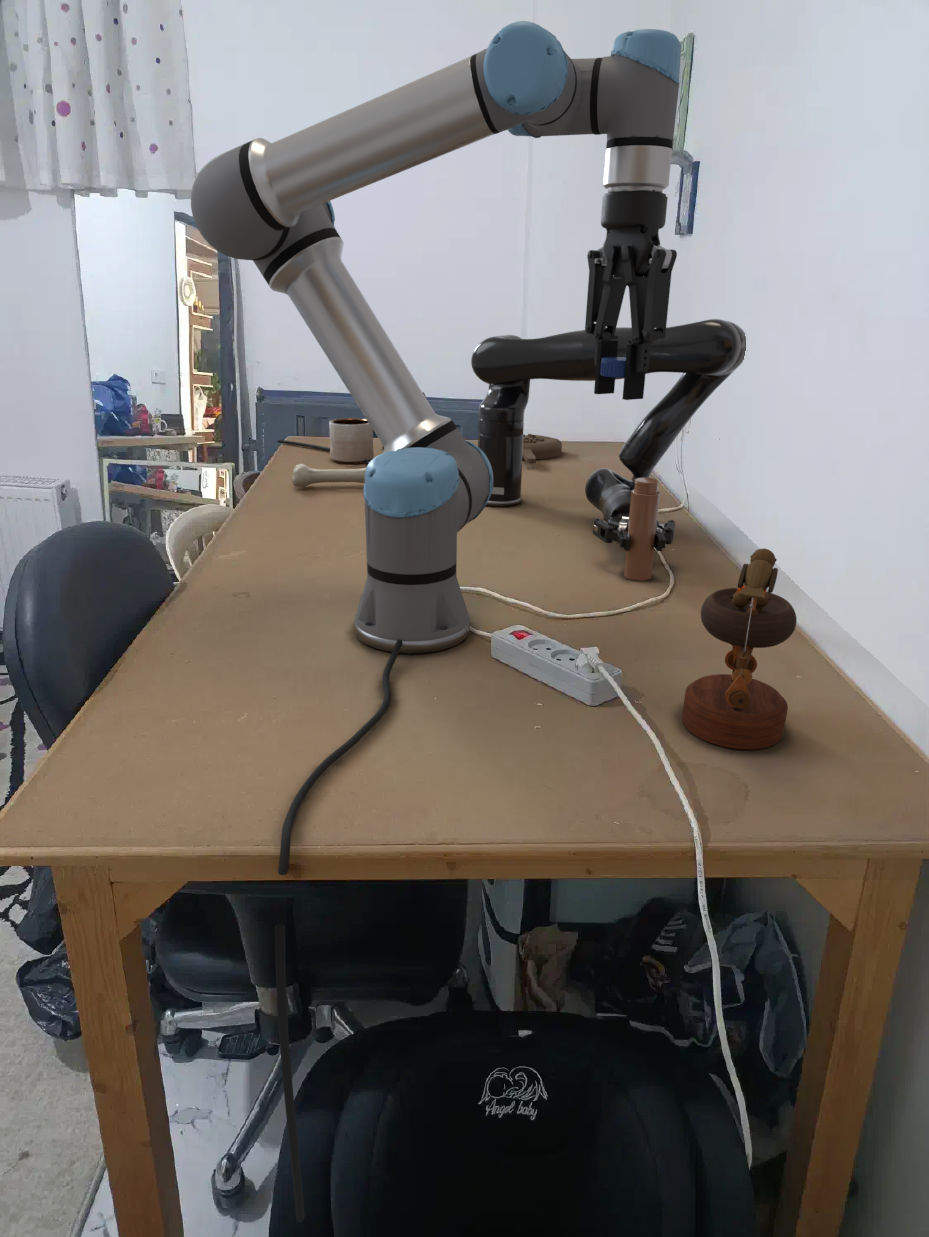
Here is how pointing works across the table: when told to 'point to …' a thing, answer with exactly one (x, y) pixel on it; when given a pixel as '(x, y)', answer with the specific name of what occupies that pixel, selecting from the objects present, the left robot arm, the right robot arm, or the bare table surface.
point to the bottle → (642, 529)
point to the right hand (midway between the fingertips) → (644, 544)
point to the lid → (613, 367)
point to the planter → (351, 440)
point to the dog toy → (325, 475)
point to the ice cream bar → (540, 447)
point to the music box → (742, 662)
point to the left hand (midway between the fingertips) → (618, 395)
